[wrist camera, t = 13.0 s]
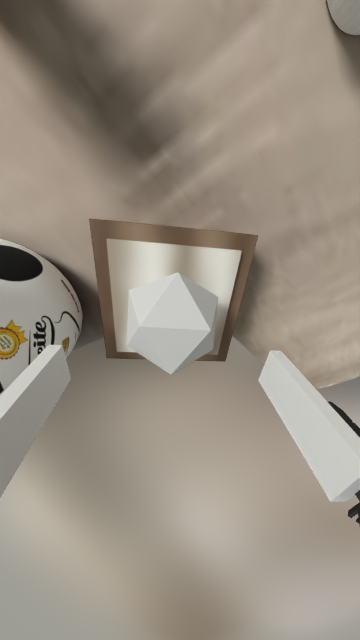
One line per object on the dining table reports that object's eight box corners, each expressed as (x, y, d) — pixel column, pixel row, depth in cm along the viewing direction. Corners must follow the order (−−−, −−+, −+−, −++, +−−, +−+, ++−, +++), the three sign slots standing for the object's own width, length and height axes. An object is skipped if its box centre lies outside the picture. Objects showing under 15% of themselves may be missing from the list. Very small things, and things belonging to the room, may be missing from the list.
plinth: (117, 335, 28) (105, 360, 23) (107, 220, 21) (87, 218, 16) (215, 339, 30) (226, 363, 25) (238, 233, 23) (260, 235, 17)
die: (118, 280, 19) (100, 374, 15) (170, 228, 13) (164, 358, 9) (175, 306, 24) (174, 382, 20) (231, 277, 18) (245, 374, 14)
